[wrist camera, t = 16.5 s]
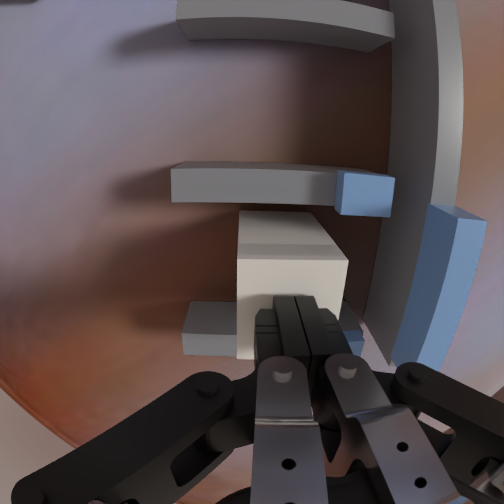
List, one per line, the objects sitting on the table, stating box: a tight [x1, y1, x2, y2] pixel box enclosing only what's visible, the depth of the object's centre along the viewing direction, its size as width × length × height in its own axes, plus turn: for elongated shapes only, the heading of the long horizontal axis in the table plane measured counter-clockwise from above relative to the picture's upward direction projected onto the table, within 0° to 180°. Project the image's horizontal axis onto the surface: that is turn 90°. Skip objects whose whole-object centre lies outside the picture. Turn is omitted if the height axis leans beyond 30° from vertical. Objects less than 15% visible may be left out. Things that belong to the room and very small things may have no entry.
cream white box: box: [237, 210, 349, 359], centre depth 15 cm, size 4×4×7 cm
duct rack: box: [171, 0, 487, 371], centre depth 12 cm, size 27×13×7 cm, turn 179°
